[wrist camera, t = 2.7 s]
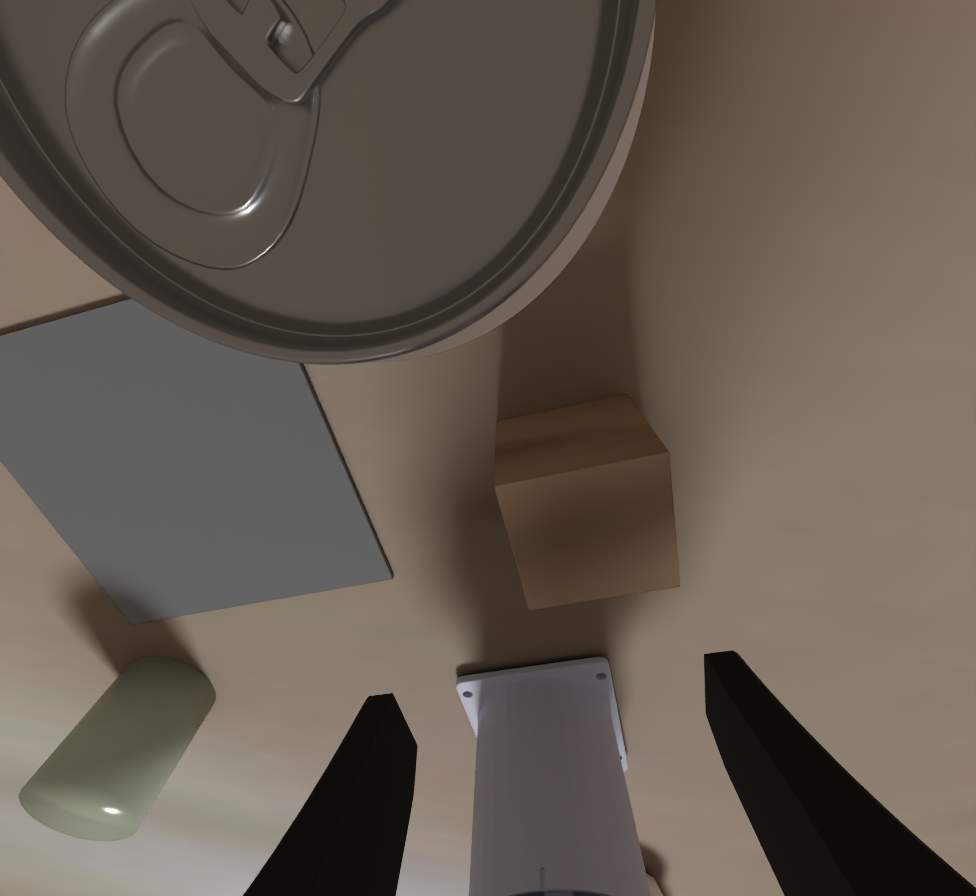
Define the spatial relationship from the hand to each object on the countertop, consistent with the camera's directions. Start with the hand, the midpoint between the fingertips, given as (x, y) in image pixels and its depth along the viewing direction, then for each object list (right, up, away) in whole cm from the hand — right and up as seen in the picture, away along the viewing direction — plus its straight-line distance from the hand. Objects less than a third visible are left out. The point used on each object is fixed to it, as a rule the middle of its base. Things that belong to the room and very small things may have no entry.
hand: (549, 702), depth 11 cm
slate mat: (-14, +5, +9) cm, 17 cm away
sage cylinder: (-19, -7, +15) cm, 25 cm away
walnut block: (+2, +5, +8) cm, 10 cm away
